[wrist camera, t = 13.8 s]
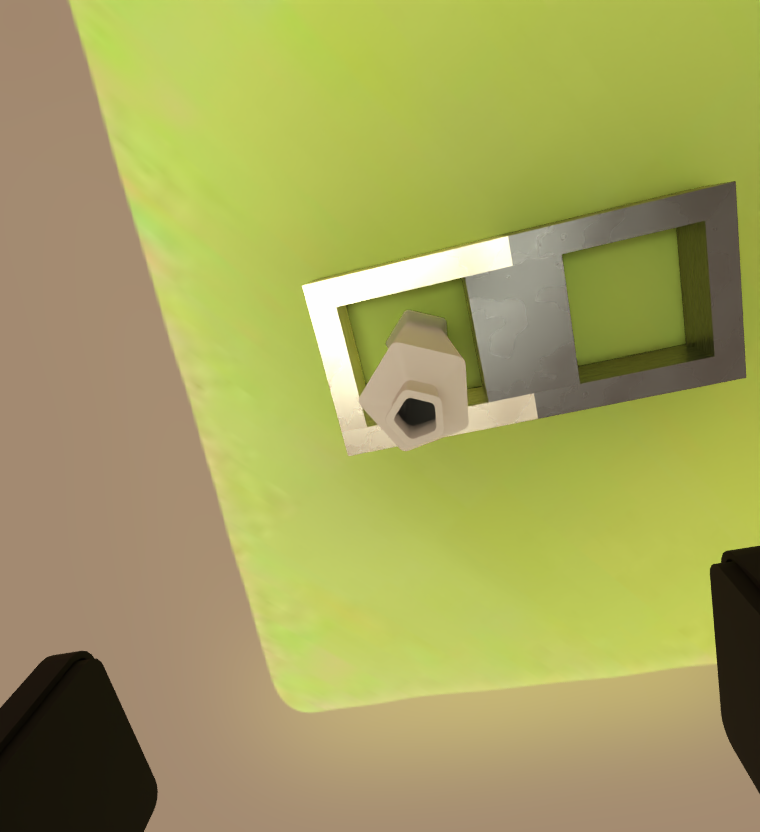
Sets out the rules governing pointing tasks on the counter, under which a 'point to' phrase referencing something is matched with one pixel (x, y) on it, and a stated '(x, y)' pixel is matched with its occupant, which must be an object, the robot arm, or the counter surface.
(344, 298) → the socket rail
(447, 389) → the perfume bottle
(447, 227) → the counter surface
